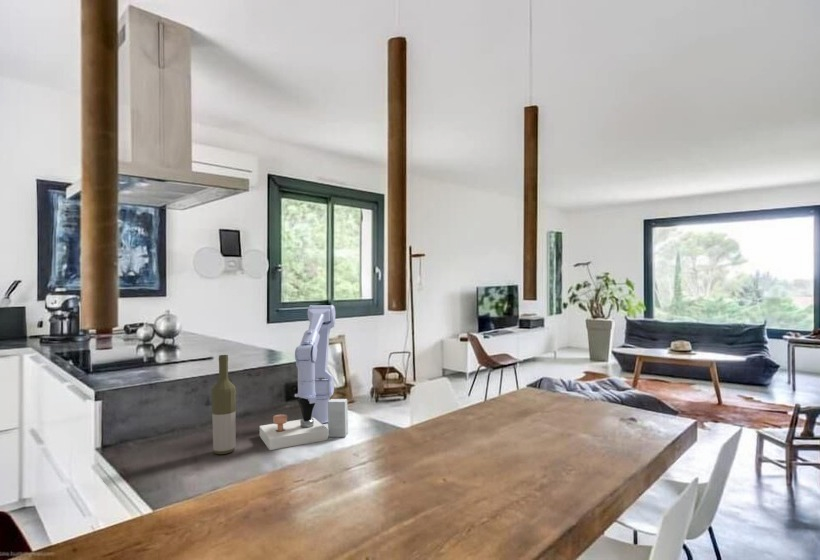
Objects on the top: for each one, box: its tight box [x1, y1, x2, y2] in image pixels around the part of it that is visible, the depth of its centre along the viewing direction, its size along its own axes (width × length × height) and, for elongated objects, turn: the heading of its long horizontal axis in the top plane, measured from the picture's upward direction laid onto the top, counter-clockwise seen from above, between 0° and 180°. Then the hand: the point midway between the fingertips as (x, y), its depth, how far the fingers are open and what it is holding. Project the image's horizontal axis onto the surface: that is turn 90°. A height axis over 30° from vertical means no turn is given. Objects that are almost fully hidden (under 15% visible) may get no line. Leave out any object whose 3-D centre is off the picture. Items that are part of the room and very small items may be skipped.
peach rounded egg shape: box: [272, 413, 288, 432], centre depth 153 cm, size 4×4×5 cm
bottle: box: [211, 354, 237, 455], centre depth 144 cm, size 7×7×30 cm
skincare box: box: [327, 398, 349, 438], centre depth 158 cm, size 6×4×12 cm
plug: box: [299, 418, 314, 428], centre depth 157 cm, size 4×4×5 cm
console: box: [259, 417, 329, 451], centre depth 156 cm, size 16×19×4 cm
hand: (306, 420), depth 157 cm, fingers closed, pressing on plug
